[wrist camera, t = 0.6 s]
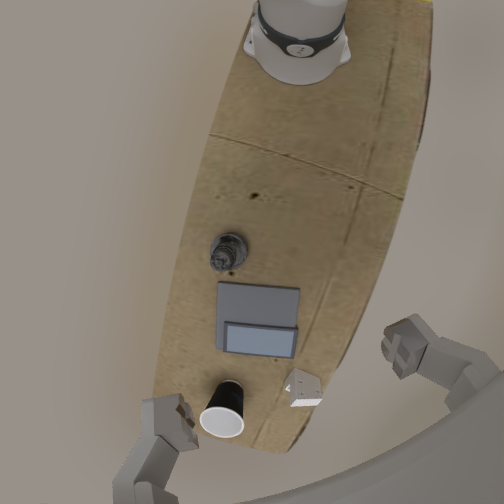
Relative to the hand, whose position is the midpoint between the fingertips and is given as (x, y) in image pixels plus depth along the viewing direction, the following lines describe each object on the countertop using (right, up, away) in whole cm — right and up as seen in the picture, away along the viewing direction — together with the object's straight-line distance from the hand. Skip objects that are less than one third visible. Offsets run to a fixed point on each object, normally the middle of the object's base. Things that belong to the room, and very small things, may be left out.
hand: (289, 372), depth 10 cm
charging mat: (-1, -8, +42) cm, 43 cm away
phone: (0, -11, +42) cm, 43 cm away
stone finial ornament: (-5, +5, +40) cm, 41 cm away
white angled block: (+9, -21, +44) cm, 49 cm away
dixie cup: (-6, -23, +46) cm, 52 cm away
